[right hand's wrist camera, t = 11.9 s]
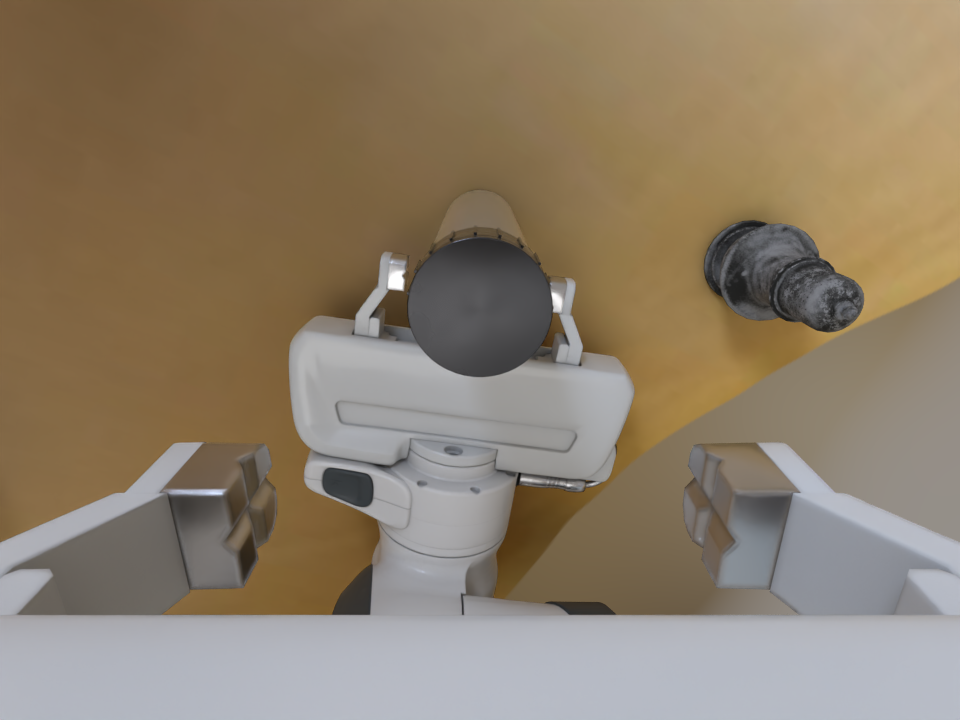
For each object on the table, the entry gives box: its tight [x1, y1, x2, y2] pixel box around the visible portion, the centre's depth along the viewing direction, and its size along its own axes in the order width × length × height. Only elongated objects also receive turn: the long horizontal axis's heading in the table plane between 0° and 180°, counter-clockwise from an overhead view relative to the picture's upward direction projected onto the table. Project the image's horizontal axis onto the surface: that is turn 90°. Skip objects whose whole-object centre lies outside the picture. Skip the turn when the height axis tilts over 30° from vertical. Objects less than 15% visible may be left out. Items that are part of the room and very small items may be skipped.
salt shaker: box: [704, 220, 864, 332], centre depth 32 cm, size 6×6×12 cm
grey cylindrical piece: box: [434, 190, 527, 245], centre depth 29 cm, size 5×5×18 cm
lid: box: [407, 225, 554, 377], centre depth 21 cm, size 5×5×2 cm
